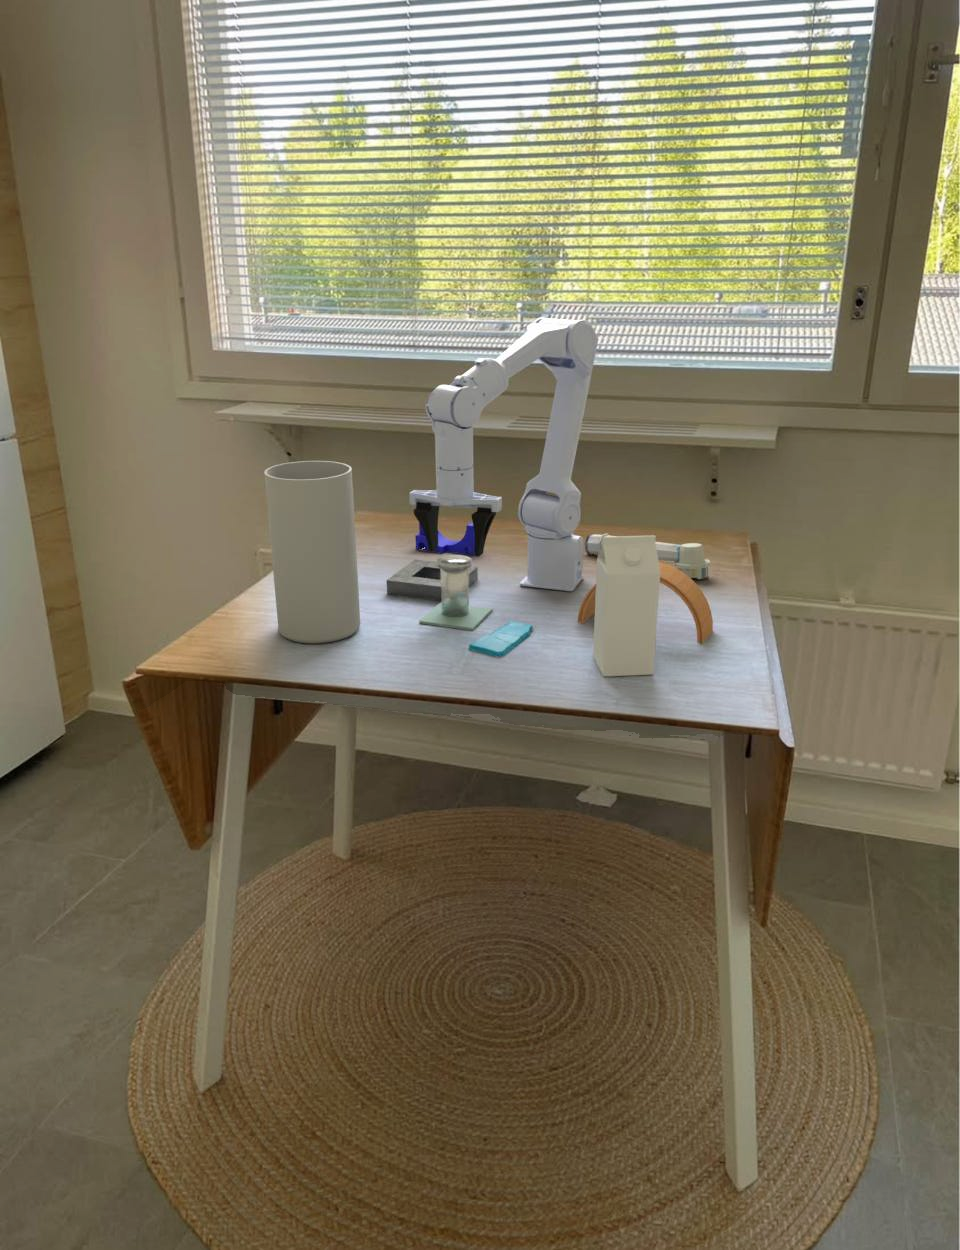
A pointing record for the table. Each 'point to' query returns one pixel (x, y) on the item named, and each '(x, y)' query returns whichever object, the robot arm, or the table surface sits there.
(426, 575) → the socket block
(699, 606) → the arch
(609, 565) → the milk carton
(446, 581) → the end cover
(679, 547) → the angle grinder
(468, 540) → the blue bearing cradle
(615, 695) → the table surface
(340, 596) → the cylinder vase
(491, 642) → the sponge
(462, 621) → the mat
